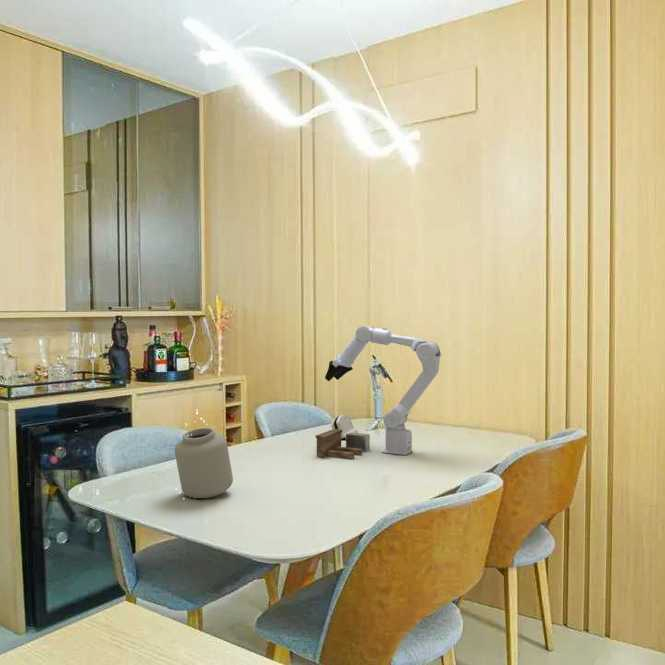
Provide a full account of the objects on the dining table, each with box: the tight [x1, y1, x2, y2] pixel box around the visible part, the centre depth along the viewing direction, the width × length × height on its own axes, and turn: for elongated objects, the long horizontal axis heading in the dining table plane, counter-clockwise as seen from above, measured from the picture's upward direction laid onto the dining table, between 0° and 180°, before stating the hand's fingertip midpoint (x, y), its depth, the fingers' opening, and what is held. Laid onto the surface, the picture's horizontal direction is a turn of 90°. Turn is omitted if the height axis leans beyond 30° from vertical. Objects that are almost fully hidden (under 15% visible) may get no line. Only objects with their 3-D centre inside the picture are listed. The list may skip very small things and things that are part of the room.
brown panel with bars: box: [315, 428, 363, 460], centre depth 241 cm, size 13×15×8 cm
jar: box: [174, 409, 234, 500], centre depth 189 cm, size 19×15×25 cm
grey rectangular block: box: [345, 432, 371, 453], centre depth 250 cm, size 8×4×6 cm, turn 63°
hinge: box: [330, 414, 359, 440], centre depth 276 cm, size 17×5×10 cm, turn 162°
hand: (331, 378), depth 256 cm, fingers open, 7 cm apart
